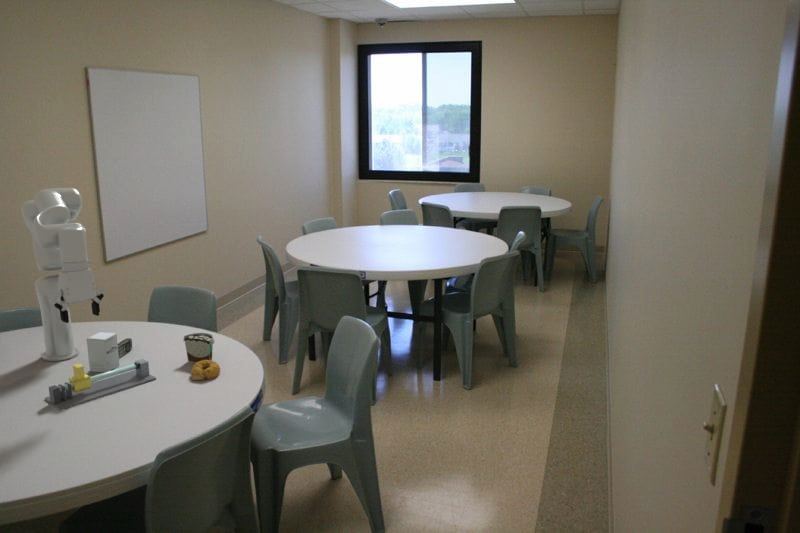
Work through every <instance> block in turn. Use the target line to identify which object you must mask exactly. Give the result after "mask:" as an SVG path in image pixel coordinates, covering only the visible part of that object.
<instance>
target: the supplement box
mask: <svg viewBox="0 0 800 533" xmlns="http://www.w3.org/2000/svg"><path fill="white" fill-rule="evenodd" d="M86 346H87V347H86V348H87V356H88V357H87V358H88V367H89V372H95V373H105V372H109V371H112V370H115V368H118V367H119V366H120V358H119V355H118V334H117V332H105V331H104V332H103V331H102V332H100V331H99V332H97V333H95V334H93V335H91V336H89V337H87V338H86Z"/></svg>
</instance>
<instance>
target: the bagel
mask: <svg viewBox="0 0 800 533" xmlns="http://www.w3.org/2000/svg"><path fill="white" fill-rule="evenodd" d="M220 372H221V367H220V365H219V364H218V362H216V361H214V360H212V361H211V360H202V361H199V362H197V363H194V365H193V366H192V368H191V370H190V377H191V379H192V380H193V381H205V380H212V379H216V378H218V376H219V375H220ZM215 377H216V378H215Z"/></svg>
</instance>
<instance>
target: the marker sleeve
mask: <svg viewBox="0 0 800 533" xmlns="http://www.w3.org/2000/svg"><path fill="white" fill-rule="evenodd" d="M84 367H85V366H84V365H82V364H81V363H76V364H73V365H72V369H73V376H71V377H68V381H69V382H68V383H72V382H73V383H74V388H72V391H74V392H75V393H76V392H80V391H83V390H86V389H89V388H91V383H92V382H91V381H90V377H91V376H90V375H88V374H87V373H85V369H84Z"/></svg>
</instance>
